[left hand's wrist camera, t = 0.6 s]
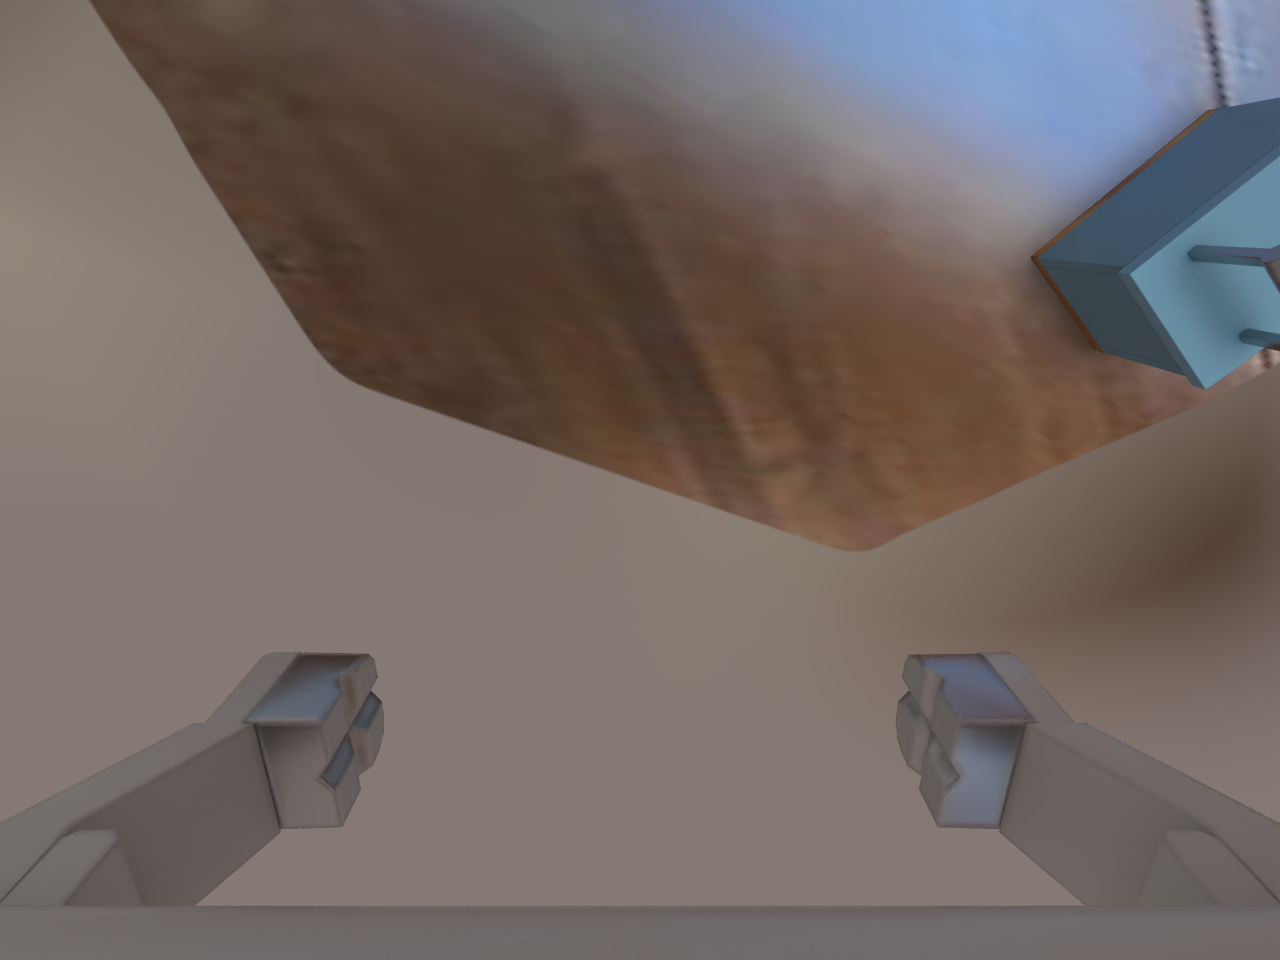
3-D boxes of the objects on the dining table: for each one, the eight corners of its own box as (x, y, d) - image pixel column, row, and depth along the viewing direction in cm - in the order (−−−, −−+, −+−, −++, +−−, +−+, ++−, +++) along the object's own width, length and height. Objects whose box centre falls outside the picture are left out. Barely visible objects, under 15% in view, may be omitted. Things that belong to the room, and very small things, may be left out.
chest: (1096, 350, 56) (1198, 380, 45) (1030, 257, 53) (1123, 266, 43) (1269, 217, 52) (1423, 217, 42) (1208, 110, 49) (1355, 82, 39)
